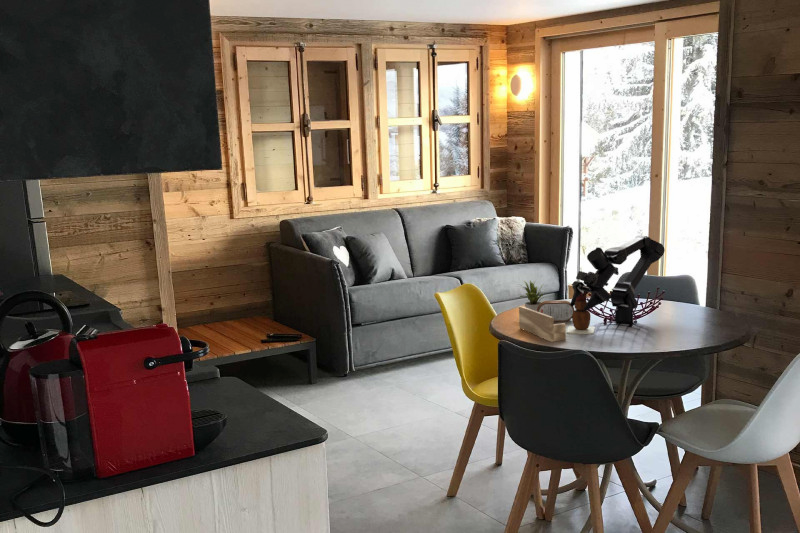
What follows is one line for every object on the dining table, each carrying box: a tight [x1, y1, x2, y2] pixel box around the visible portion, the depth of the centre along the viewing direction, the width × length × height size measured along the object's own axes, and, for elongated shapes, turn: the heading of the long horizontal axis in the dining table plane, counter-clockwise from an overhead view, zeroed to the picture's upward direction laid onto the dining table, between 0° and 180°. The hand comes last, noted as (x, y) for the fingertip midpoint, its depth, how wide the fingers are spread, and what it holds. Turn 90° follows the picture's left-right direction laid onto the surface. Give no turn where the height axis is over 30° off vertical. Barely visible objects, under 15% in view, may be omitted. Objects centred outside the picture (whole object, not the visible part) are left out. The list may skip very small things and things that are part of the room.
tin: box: [537, 300, 575, 323], centre depth 320 cm, size 15×3×8 cm, turn 84°
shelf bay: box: [518, 305, 567, 342], centre depth 299 cm, size 6×24×9 cm, turn 20°
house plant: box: [518, 279, 549, 311], centre depth 328 cm, size 14×14×16 cm
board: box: [566, 325, 596, 335], centre depth 302 cm, size 10×10×1 cm
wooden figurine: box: [571, 291, 591, 330], centre depth 301 cm, size 7×6×15 cm
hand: (577, 307), depth 300 cm, fingers open, 9 cm apart
